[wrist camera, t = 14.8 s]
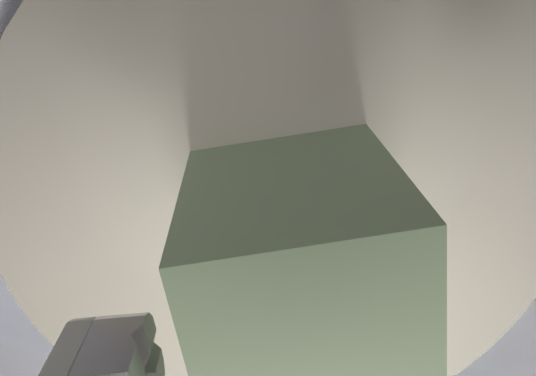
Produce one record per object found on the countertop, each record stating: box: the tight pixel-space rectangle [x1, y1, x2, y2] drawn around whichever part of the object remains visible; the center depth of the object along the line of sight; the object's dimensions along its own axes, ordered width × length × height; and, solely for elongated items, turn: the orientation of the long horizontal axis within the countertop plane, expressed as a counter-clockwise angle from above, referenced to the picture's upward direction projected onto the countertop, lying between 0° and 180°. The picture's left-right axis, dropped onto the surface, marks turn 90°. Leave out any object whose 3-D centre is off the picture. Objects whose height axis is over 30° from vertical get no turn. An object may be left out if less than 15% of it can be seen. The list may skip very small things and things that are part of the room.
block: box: [159, 124, 447, 376], centre depth 12 cm, size 5×5×6 cm
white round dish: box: [0, 0, 536, 376], centre depth 16 cm, size 18×18×1 cm
